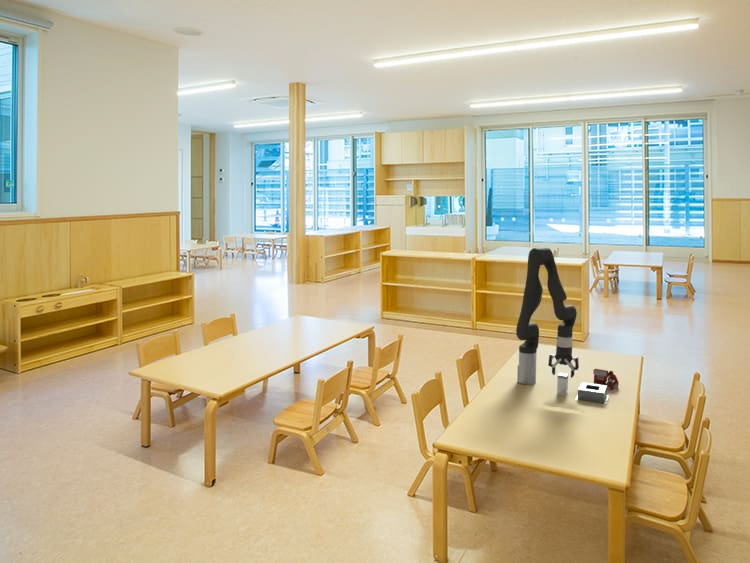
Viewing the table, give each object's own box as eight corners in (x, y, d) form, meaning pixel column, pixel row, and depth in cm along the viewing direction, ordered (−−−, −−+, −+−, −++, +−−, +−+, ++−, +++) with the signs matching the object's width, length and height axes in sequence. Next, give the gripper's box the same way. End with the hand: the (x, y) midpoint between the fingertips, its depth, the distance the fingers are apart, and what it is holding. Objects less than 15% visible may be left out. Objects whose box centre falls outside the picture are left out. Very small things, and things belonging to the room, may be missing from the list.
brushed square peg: (556, 396, 282) (557, 375, 281) (558, 393, 286) (559, 372, 285) (566, 397, 280) (566, 376, 279) (567, 394, 284) (568, 373, 283)
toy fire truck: (616, 393, 286) (617, 374, 284) (591, 389, 293) (591, 370, 291) (619, 389, 292) (620, 370, 290) (594, 385, 299) (595, 366, 297)
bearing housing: (575, 402, 275) (575, 389, 274) (579, 393, 287) (579, 381, 286) (605, 407, 268) (606, 394, 267) (608, 397, 281) (609, 385, 280)
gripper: (548, 344, 279) (546, 376, 282) (578, 348, 273) (576, 380, 275) (551, 341, 286) (549, 371, 289) (580, 344, 279) (578, 375, 282)
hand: (562, 375), depth 282 cm, fingers open, 8 cm apart
